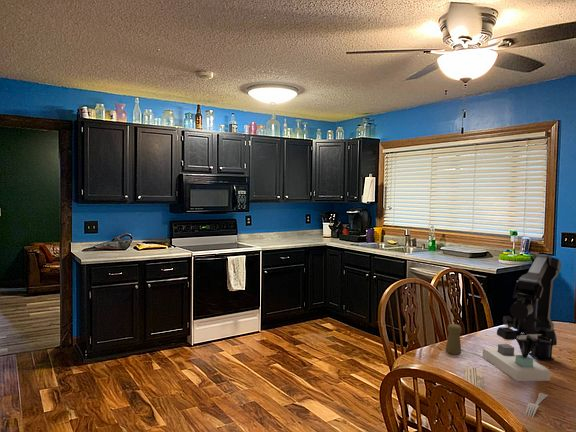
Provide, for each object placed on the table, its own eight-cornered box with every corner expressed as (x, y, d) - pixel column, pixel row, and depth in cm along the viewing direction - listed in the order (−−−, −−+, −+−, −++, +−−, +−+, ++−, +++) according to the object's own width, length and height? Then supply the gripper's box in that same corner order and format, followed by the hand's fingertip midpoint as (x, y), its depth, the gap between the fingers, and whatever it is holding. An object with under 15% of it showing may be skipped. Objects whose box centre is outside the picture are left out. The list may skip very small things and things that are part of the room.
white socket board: (511, 356, 173) (511, 347, 173) (549, 380, 151) (550, 370, 151) (482, 356, 172) (482, 348, 172) (517, 381, 150) (517, 371, 150)
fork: (548, 403, 141) (549, 394, 141) (533, 420, 125) (534, 410, 125) (539, 400, 142) (539, 391, 143) (522, 416, 127) (523, 407, 127)
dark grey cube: (507, 354, 169) (508, 344, 169) (513, 358, 165) (514, 347, 165) (497, 354, 169) (498, 344, 169) (503, 358, 165) (504, 347, 165)
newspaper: (463, 370, 160) (464, 365, 160) (485, 374, 157) (485, 369, 157) (464, 398, 138) (464, 392, 138) (488, 403, 135) (489, 397, 135)
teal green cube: (525, 365, 158) (526, 354, 158) (532, 370, 154) (533, 359, 154) (515, 365, 158) (515, 355, 158) (522, 370, 154) (522, 359, 154)
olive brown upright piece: (462, 354, 174) (464, 327, 173) (446, 353, 175) (447, 326, 174) (459, 349, 180) (461, 323, 179) (444, 348, 181) (445, 321, 180)
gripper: (536, 307, 164) (534, 348, 165) (489, 307, 162) (487, 349, 163) (557, 316, 153) (555, 360, 154) (507, 316, 151) (504, 360, 152)
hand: (524, 357), depth 156 cm, fingers closed, pressing on teal green cube
